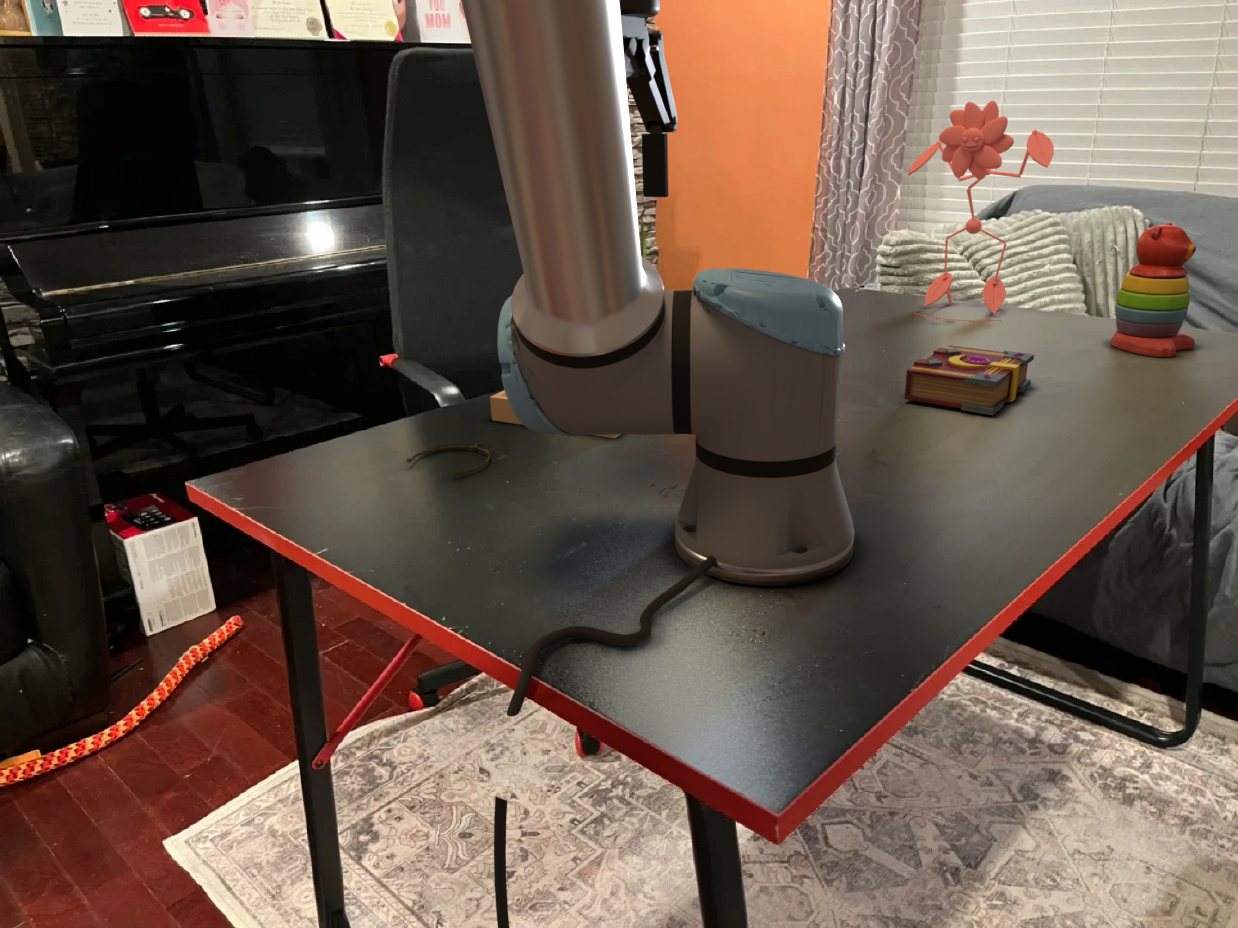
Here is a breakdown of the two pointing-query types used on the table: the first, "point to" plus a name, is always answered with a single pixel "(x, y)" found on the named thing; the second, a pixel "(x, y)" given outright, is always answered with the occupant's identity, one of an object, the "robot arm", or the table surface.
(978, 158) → the figurine
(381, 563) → the table surface
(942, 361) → the decorative book
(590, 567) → the table surface
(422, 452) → the accessory
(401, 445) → the table surface
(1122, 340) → the stacking bear
